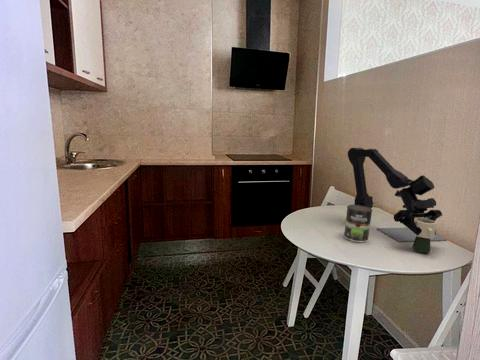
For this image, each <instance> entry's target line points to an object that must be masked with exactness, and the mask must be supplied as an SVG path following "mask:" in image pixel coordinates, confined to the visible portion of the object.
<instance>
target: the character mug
mask: <svg viewBox="0 0 480 360" xmlns="http://www.w3.org/2000/svg"><path fill="white" fill-rule="evenodd" d="M414 222H415V224H416V226H417V229H418V231H419V235H417V236H416V238H415V241H414V242H413V244H412V247H411V249H413V251H416V252H418V253H430V252H431V241H430V238H433V237H434V234H435V229H436V227H437V221H433V220H430V219H424V218H415V220H414ZM436 230H437V229H436ZM414 234H415V233H414ZM415 235H416V234H415Z"/></svg>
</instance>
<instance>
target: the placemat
mask: <svg viewBox="0 0 480 360" xmlns="http://www.w3.org/2000/svg"><path fill="white" fill-rule="evenodd" d="M376 230H377V231H379V232H380V233H382V234H384V235H385V236H388V237H389V238H391V239H393V240H395V241H396V242H398V243H414V241H415V238H416V236H417V235H415V234H414V232H412V231H411V230H410V229H409V228H408V227H406V226H405V227H376ZM447 240H448V239H446V238H444V237H442V236H440V235H438V234H435V235H434V237H433V238H430V242H447Z"/></svg>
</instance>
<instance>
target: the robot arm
mask: <svg viewBox="0 0 480 360" xmlns="http://www.w3.org/2000/svg"><path fill="white" fill-rule="evenodd" d="M347 157H348V160H349V162H350V164H351V166H352V168H353V177H354V184H355V185H354V186H355V192H356V195H355V198H354V204H353V205H361V206H366V207H369V208H371V209H373V205H374V202H373V198H374V197H373V196H372V195H371V196H370V195H369V193H368V190H367V189H368V188H367V184H366V176H365V175H366V174H365V169H364V163H365V160H366V158H369V159H370V160H371V162H373V163H374V165H376V166H377V168H378V169H379V170H380V171H381V172H382V173H383V174H384V175H385V178H386V181H387V183H388V184H389V185H390V187H391V188H392V189H396V192H395V194H394V196H395V197H399V198H401V201H402V202H403V205H402V208H403V209H400V210H398V211H397V212H396V213H394V214H393V220H394V222H396V223H397V222H398V223H400V224H401V225H402V224H403V225H404V226H405V227H408V228H409V229H410V230H411V231H412V232H414V233H415V234H416V235H419V231H418V229H417V226H416V224H415V219H417V218H424V219H430V220H433V221H435V222H437V221H436V220H437V219H439V218H441V217H442V216H443V212H442V211H441V210H440V209H433V208H435V206H437V202H436V201H437V200H435V198H434V197H433V198H432V197H431V198H427V199H418V196H423V195H425V194H427V193H428V192H431V191H432V190H434V189H435V185H434V183H433V181H431V180H430V179H429V178H428V177H426V176H425V175H423V174H422V175H419V176H418V177H417V178H416V179H415V180H412V179H409V178H408V176H406V175H405V174H404V173H403V172H401V171H399V170H397V169H395V167H393V166H392V165H391V164H390V163H389V161H387V160H386V158H385V157H383V155H382V154H381V153H380V152H379V151H378V149H376V148H368V149H365V148H363V147H350V148H349V149H348V150H347ZM398 189H400V190H398ZM431 208H432V209H431ZM428 209H430V210H428ZM436 232H437V229H435V234H436ZM435 234H434V235H435ZM436 235H437V234H436Z"/></svg>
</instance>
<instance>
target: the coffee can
mask: <svg viewBox="0 0 480 360" xmlns="http://www.w3.org/2000/svg"><path fill="white" fill-rule="evenodd" d="M346 208H347V210H346V216H345V225H344V234H343V237H344V238H345V239H346V240H348V241H349V242H350V241H351V242H353V243H367V242H369V235H370V228H371V223H372V221H371V220H372V213H373V208H369V207H366V206H361V205H354V204H348V205H347V206H346Z"/></svg>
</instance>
